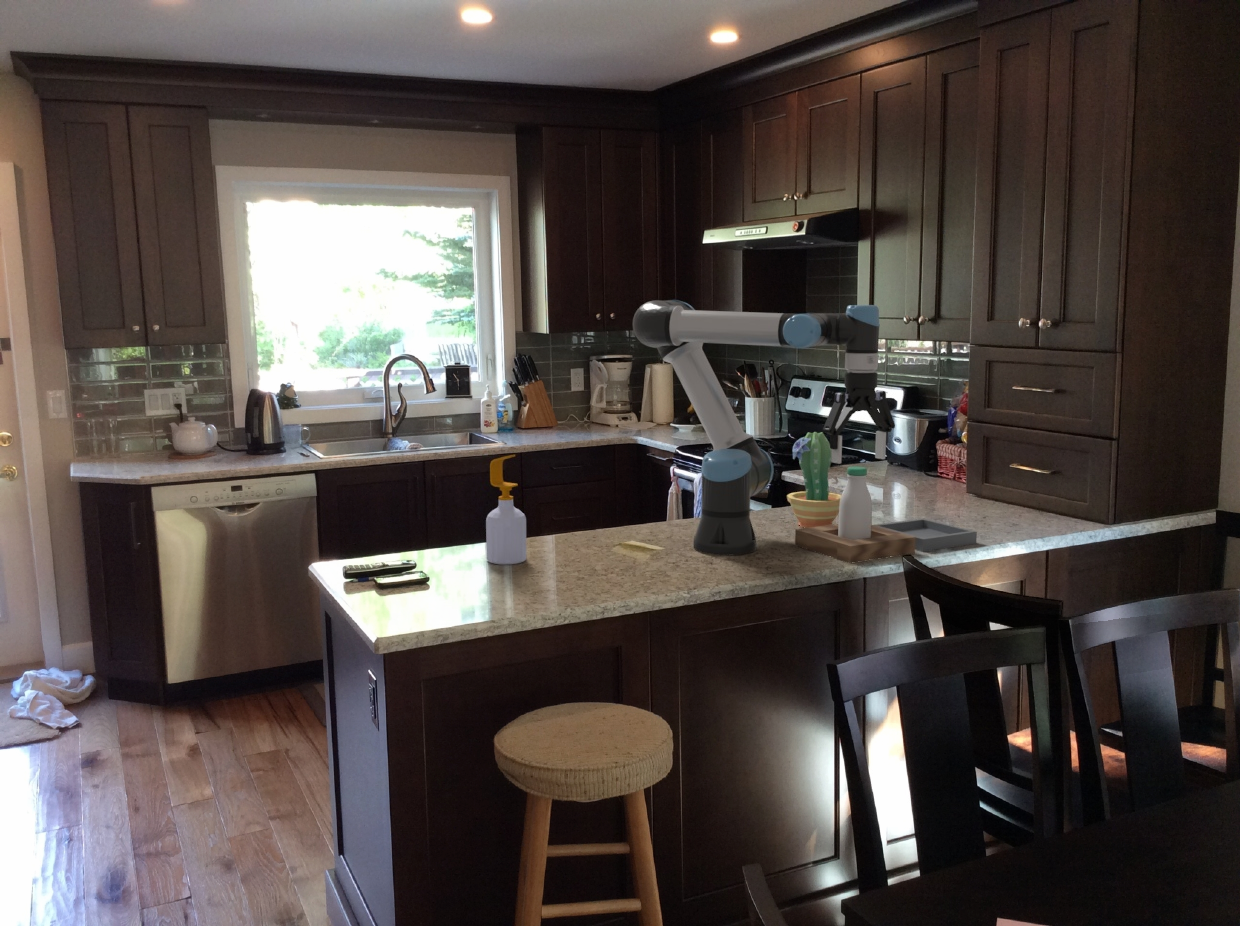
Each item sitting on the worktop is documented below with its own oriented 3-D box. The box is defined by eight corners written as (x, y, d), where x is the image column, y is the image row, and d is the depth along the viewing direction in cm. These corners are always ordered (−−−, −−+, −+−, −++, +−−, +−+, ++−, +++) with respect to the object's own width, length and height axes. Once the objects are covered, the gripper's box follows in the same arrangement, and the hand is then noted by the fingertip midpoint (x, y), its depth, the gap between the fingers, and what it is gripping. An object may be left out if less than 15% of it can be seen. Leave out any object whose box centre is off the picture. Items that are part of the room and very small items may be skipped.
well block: (849, 563, 241) (850, 546, 240) (795, 545, 258) (795, 529, 257) (914, 553, 250) (915, 536, 250) (857, 536, 268) (858, 521, 267)
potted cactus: (786, 518, 289) (789, 428, 286) (844, 521, 287) (847, 429, 283) (785, 530, 274) (787, 435, 271) (845, 533, 272) (849, 437, 268)
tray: (922, 551, 252) (923, 539, 252) (870, 536, 268) (871, 525, 267) (976, 543, 261) (976, 531, 260) (922, 529, 276) (923, 518, 276)
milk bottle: (870, 553, 250) (874, 470, 247) (837, 552, 251) (840, 469, 248) (869, 546, 257) (873, 465, 254) (837, 545, 259) (840, 464, 256)
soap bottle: (510, 567, 236) (509, 458, 232) (478, 561, 241) (476, 455, 237) (534, 558, 244) (533, 453, 240) (503, 553, 248) (501, 450, 245)
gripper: (830, 374, 238) (827, 466, 241) (912, 370, 250) (908, 458, 253) (809, 372, 245) (807, 462, 248) (889, 368, 257) (886, 454, 260)
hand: (858, 460), depth 251 cm, fingers open, 13 cm apart
